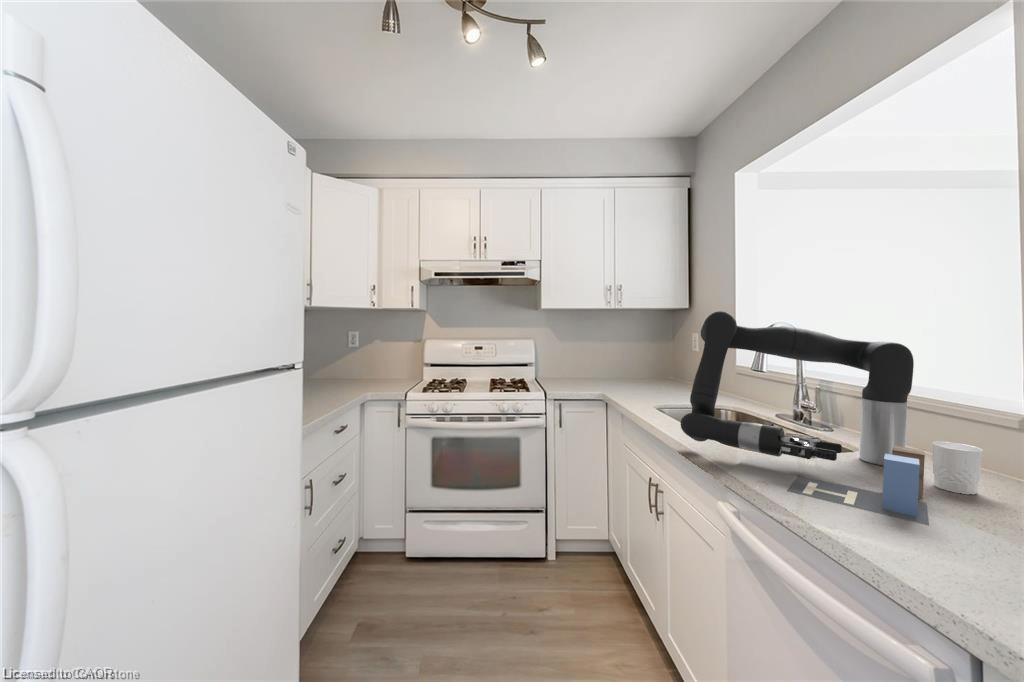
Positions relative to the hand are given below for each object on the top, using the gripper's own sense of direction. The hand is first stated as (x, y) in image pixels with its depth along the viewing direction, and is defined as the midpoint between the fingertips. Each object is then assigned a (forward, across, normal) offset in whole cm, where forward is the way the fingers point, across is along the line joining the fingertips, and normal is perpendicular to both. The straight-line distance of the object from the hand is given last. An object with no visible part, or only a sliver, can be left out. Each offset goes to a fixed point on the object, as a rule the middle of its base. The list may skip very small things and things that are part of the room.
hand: (839, 452), depth 96 cm
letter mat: (+4, -10, +7) cm, 13 cm away
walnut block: (+12, +2, +7) cm, 14 cm away
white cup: (+20, +16, +8) cm, 26 cm away
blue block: (+11, -11, +7) cm, 17 cm away
